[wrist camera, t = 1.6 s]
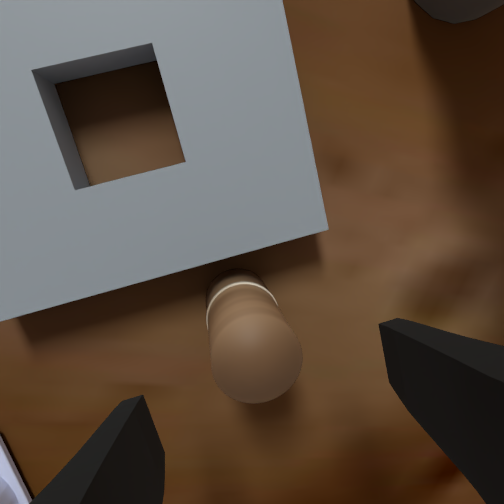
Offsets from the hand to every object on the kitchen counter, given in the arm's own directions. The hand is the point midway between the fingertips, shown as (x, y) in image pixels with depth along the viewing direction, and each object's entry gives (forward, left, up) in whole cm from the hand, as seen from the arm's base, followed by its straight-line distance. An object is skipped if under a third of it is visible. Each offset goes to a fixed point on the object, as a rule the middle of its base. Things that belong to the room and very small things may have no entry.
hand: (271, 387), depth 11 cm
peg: (-1, 0, -10) cm, 10 cm away
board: (+9, +3, -10) cm, 14 cm away
